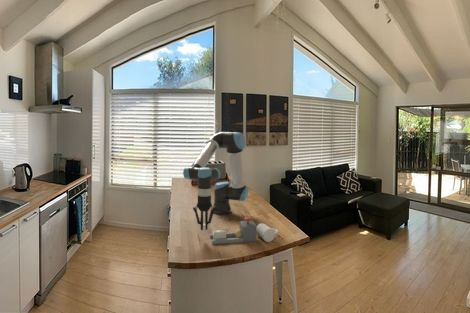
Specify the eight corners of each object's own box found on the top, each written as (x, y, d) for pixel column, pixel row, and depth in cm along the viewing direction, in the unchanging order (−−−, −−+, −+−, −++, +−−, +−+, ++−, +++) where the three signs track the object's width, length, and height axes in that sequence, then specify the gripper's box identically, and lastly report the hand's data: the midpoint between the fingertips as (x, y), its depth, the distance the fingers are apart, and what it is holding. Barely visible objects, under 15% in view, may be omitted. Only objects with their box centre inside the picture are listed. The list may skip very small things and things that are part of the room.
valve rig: (209, 238, 162) (210, 217, 160) (251, 236, 167) (252, 215, 165) (211, 246, 152) (212, 223, 150) (256, 243, 157) (257, 220, 156)
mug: (263, 243, 158) (263, 229, 157) (255, 236, 167) (255, 224, 166) (280, 239, 163) (281, 227, 162) (272, 233, 172) (272, 221, 171)
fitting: (212, 238, 160) (212, 229, 159) (224, 237, 161) (224, 228, 160) (214, 242, 154) (214, 233, 154) (226, 241, 156) (226, 232, 155)
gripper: (193, 197, 148) (192, 238, 150) (216, 196, 150) (216, 237, 153) (192, 193, 155) (192, 233, 158) (214, 193, 158) (214, 232, 160)
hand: (203, 235), depth 155 cm, fingers closed
